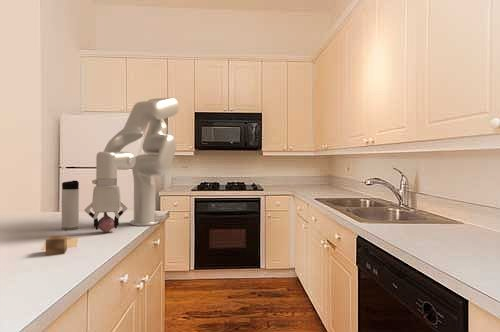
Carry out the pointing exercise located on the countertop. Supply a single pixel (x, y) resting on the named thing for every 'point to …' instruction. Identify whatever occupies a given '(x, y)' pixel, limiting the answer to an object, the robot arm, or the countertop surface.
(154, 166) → the robot arm
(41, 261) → the countertop surface
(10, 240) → the countertop surface
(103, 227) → the vegetable
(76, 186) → the travel mug
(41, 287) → the countertop surface
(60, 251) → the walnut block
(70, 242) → the letter
